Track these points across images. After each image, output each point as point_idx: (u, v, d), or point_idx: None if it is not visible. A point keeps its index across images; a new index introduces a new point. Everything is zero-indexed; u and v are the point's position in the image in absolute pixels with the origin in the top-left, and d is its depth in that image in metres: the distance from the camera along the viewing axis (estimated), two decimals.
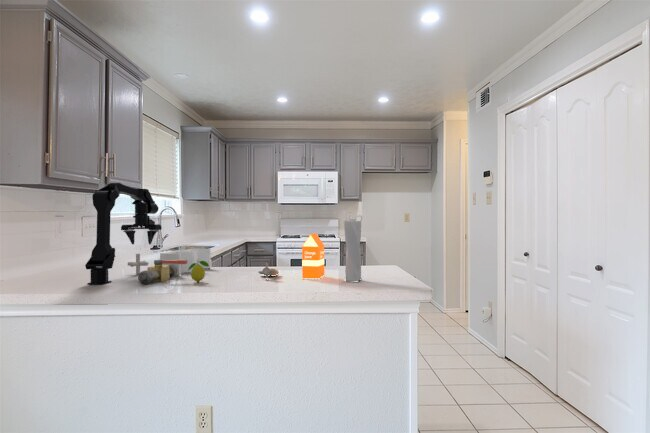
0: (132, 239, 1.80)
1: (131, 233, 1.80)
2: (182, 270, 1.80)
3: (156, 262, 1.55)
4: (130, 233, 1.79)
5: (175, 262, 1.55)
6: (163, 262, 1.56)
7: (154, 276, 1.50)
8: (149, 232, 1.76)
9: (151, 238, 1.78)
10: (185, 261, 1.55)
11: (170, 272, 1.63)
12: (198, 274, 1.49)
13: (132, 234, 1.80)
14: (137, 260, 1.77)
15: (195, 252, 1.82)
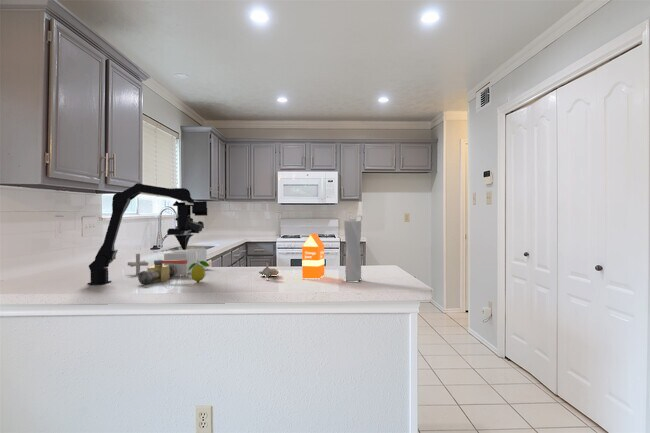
0: None
1: None
2: None
3: (156, 262, 1.55)
4: None
5: (175, 262, 1.55)
6: (163, 262, 1.56)
7: (154, 276, 1.50)
8: None
9: (182, 243, 1.61)
10: (185, 261, 1.55)
11: (170, 272, 1.63)
12: (198, 274, 1.49)
13: None
14: (137, 260, 1.77)
15: (195, 252, 1.83)
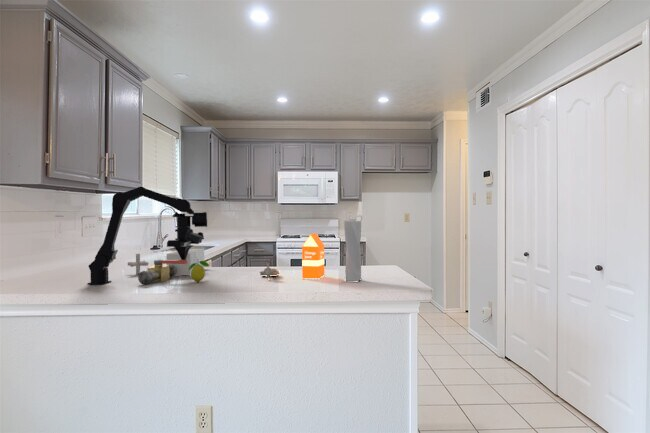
0: None
1: None
2: None
3: (156, 262, 1.55)
4: None
5: (175, 262, 1.55)
6: (163, 262, 1.56)
7: (154, 276, 1.50)
8: None
9: (181, 254, 1.61)
10: (185, 261, 1.55)
11: (170, 272, 1.63)
12: (198, 274, 1.49)
13: None
14: (137, 260, 1.77)
15: None
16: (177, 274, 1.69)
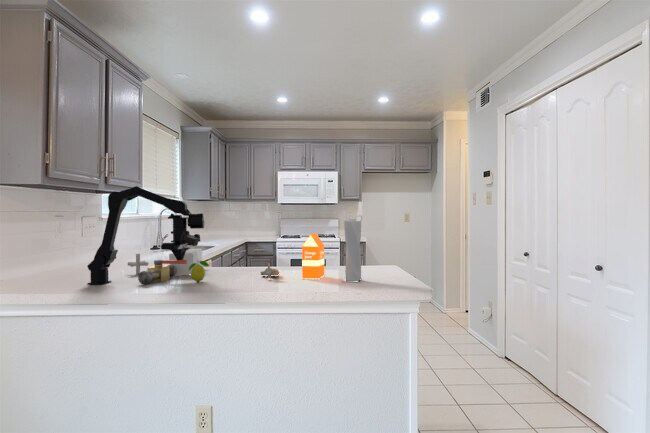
0: None
1: None
2: None
3: (156, 262, 1.55)
4: None
5: (175, 262, 1.55)
6: (163, 262, 1.56)
7: (154, 276, 1.50)
8: None
9: (178, 257, 1.57)
10: (185, 261, 1.55)
11: (170, 272, 1.63)
12: (198, 274, 1.49)
13: None
14: (137, 260, 1.77)
15: None
16: (180, 274, 1.70)
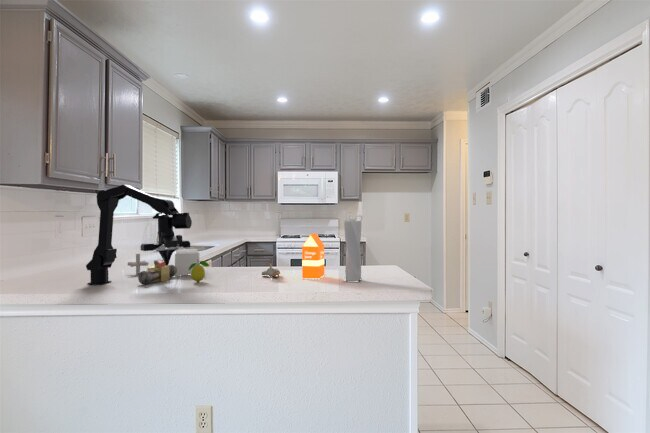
0: None
1: (167, 252, 1.51)
2: None
3: (154, 262, 1.56)
4: None
5: (158, 264, 1.50)
6: (157, 263, 1.54)
7: (154, 276, 1.50)
8: None
9: (163, 259, 1.50)
10: (161, 264, 1.46)
11: (170, 272, 1.63)
12: (198, 274, 1.49)
13: (167, 253, 1.51)
14: (137, 260, 1.77)
15: None
16: (186, 274, 1.70)
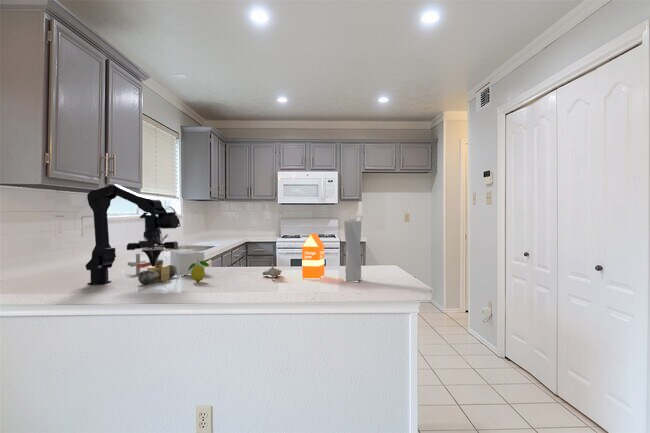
0: None
1: None
2: None
3: None
4: None
5: None
6: None
7: (154, 276, 1.50)
8: None
9: None
10: (138, 265, 1.45)
11: (170, 272, 1.63)
12: (198, 274, 1.49)
13: None
14: (137, 260, 1.77)
15: None
16: None
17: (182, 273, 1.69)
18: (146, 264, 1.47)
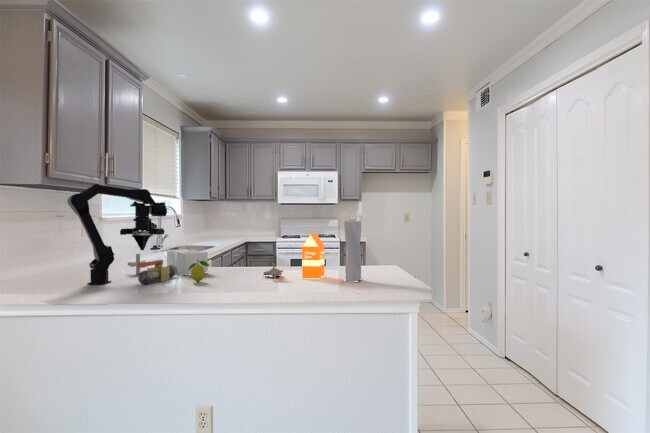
0: None
1: None
2: None
3: None
4: (139, 238, 1.63)
5: None
6: None
7: (154, 276, 1.50)
8: (142, 237, 1.61)
9: (144, 243, 1.64)
10: (138, 265, 1.45)
11: (170, 272, 1.63)
12: (198, 274, 1.49)
13: None
14: (137, 260, 1.77)
15: None
16: None
17: (187, 273, 1.70)
18: (146, 264, 1.47)
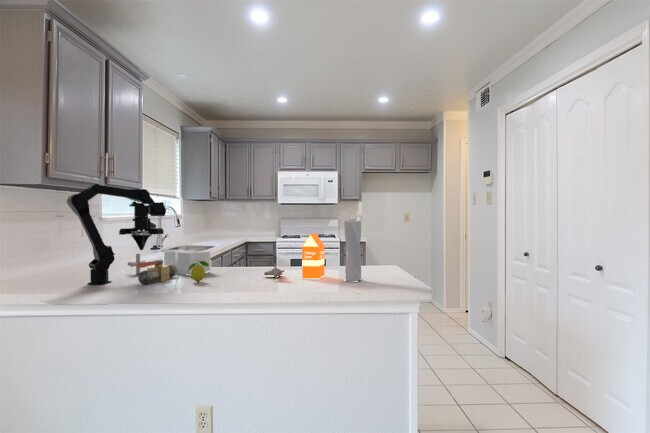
0: None
1: None
2: None
3: None
4: (138, 238, 1.63)
5: None
6: None
7: (154, 276, 1.50)
8: (141, 237, 1.62)
9: (143, 243, 1.64)
10: (138, 265, 1.45)
11: (170, 272, 1.63)
12: (198, 274, 1.49)
13: None
14: (137, 260, 1.77)
15: None
16: None
17: None
18: (146, 264, 1.47)
